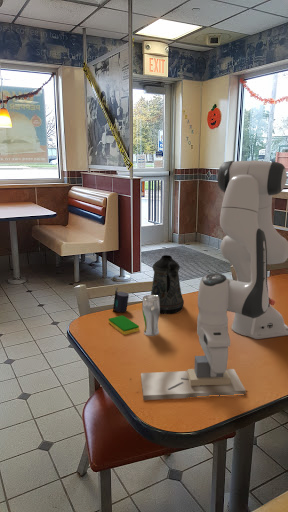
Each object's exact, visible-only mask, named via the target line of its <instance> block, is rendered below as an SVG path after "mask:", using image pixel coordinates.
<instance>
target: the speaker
mask: <svg viewBox="0 0 288 512" xmlns="http://www.w3.org/2000/svg"><path fill="white" fill-rule="evenodd" d="M118 289H119V287H118V286H116V288H115V291H114V292H115V293H114V301H113V309H112V312H113V313H114V311H116V312H117V313H122V314H123V313H126V312H127V309H128V304H129V298H130V297H129V296H130V295H129V293H127V292H125V291H118Z"/></svg>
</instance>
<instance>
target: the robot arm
mask: <svg viewBox="0 0 288 512" xmlns="http://www.w3.org/2000/svg"><path fill="white" fill-rule="evenodd" d="M287 179H288V175H287V171H286V166H285V165H284V164H283V163H282V162H278V161H277V162H276V161H272V162H271V161H265V160H258V159H257V160H256V159H253V160H236V161H235V160H230V161H229V160H228V161H225V162H223V163H222V164H221V165H220V166H219V168H218V171H217V176H216V180H217V186H218V188H219V190H220V191H222V192H224V195H223V199H222V203H221V208H220V215H219V226H220V228H221V230H222V232H223V233H224V234H225V236H224V237H223V239H222V240H221V241H220V246H219V247H220V248H219V249H220V253H221V255H222V257H223V258H224V259H225V261H228V262H229V263H230V265H231V267H232V268H233V269H234V271H235V274H236V280H235V279H231V278H227V276H225V274H222V273H218V272H214V273H207V274H205V275H203V276H202V277H201V278H200V281H199V282H200V283H199V286H198V293H197V307H198V314H197V318H196V319H197V320H196V321H197V323H196V326H197V327H196V333H197V336H198V342H199V344H200V347H201V349H202V351H203V353H204V354H203V355H204V356H206V358H207V360H208V363H209V365H210V367H211V368H210V376H211V377H216V375H217V374H220V373H225V371H226V369H228V361H229V360H228V359H229V347H231V338H230V334H229V326H228V325H229V322H228V321H229V318H228V312H231V313H234V317H233V321H232V324H231V330H232V331H233V332H235V333H236V334H239V335H242V336H246V337H250V338H252V339H255V340H261V339H268V338H269V339H270V338H275V337H276V338H277V337H284V336H288V325H287V324H285V319H284V317H283V315H282V314H281V313H280V312H279V310H277V309H276V308H274V307H273V306H274V305H275V304H276V302H275V300H274V299H272V298H271V297H270V296H269V288H268V265H275V264H277V265H278V264H283V263H285V262H286V261H287V260H288V240H287V239H286V237H283V236H282V235H281V234H280V233H279V232H278V231H277V230H276V228H275V226H274V224H273V216H272V214H273V212H272V207H273V204H272V203H273V196H275V195H279V194H280V193H282V191H283V190H284V188H285V186H286V184H287Z"/></svg>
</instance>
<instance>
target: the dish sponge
mask: <svg viewBox="0 0 288 512" xmlns="http://www.w3.org/2000/svg"><path fill="white" fill-rule="evenodd" d="M109 323H110V324H111V325H110V324H109ZM108 324H109V325H110V326H112V327H113V328H114V329H116V330H117V331H118V332H120V333H121V334H122V335H123V336H124V335H129V334H133V333H135V332H139V331H140V325H138V324H137V323H135V321H134V322H133V321H132V320H131V319H129V318H128V317H126V316H124V315H122V314H121V315H118V316H113V317H111V318H108Z"/></svg>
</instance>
